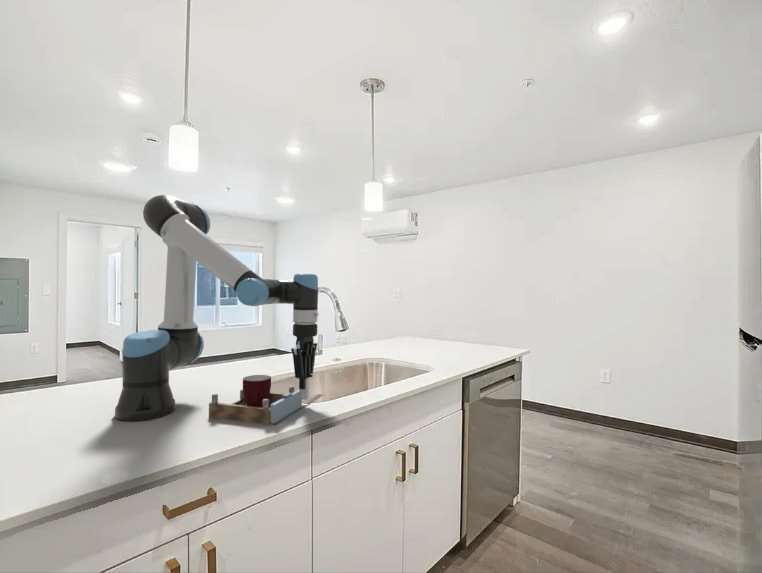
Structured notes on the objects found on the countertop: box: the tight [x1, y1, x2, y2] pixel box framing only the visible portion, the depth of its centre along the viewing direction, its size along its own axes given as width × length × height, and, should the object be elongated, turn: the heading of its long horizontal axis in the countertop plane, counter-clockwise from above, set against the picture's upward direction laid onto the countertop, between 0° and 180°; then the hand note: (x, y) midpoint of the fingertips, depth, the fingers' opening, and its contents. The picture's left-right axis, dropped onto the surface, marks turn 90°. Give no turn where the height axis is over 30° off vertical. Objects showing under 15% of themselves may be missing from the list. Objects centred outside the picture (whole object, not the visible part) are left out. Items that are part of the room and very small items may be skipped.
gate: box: [270, 389, 303, 423], centre depth 112 cm, size 2×15×6 cm, turn 164°
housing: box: [208, 385, 324, 427], centre depth 122 cm, size 22×31×6 cm
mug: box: [242, 374, 272, 408], centre depth 115 cm, size 10×8×10 cm
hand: (303, 398), depth 121 cm, fingers closed
